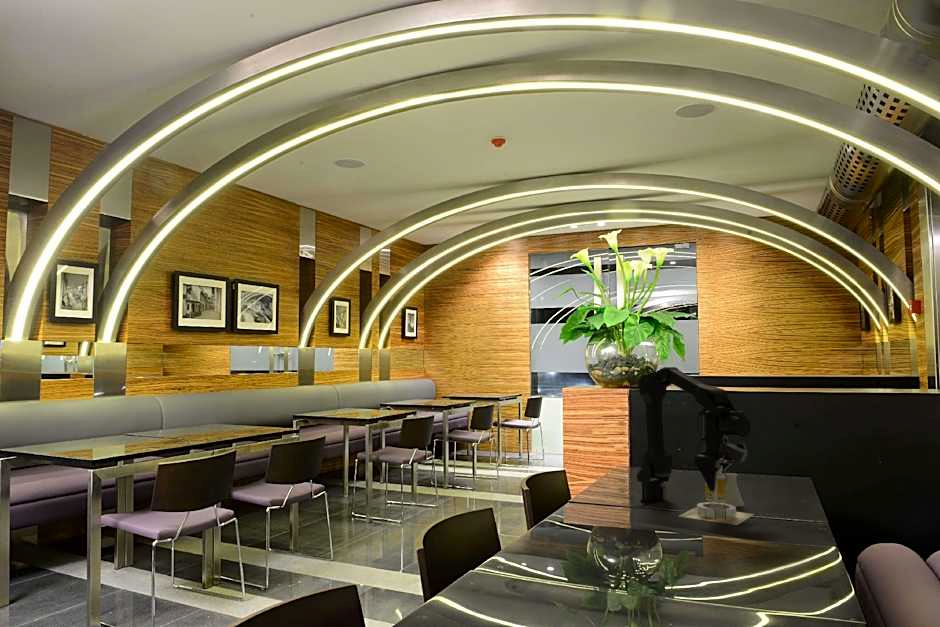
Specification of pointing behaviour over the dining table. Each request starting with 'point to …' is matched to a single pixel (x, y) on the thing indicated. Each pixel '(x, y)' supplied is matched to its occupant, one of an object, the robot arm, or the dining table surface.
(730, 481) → the flask
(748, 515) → the birch base plate
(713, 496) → the supplement bottle
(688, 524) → the dining table surface
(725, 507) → the steel ring collar
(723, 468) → the robot arm
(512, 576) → the dining table surface
